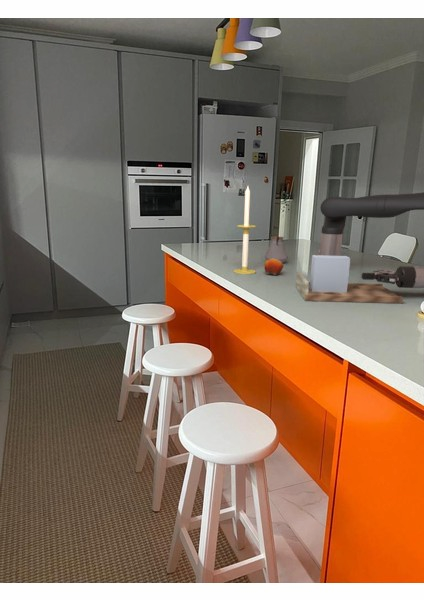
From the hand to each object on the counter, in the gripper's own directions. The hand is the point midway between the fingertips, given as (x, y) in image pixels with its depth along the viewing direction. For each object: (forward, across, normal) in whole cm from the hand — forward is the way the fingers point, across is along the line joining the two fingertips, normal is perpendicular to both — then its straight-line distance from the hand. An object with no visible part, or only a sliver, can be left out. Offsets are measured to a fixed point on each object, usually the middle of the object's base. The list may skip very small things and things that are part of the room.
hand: (362, 276), depth 148 cm
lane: (+5, 0, +7) cm, 9 cm away
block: (+12, 0, +5) cm, 13 cm away
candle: (+40, -38, +7) cm, 56 cm away
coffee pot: (+24, -60, +7) cm, 65 cm away
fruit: (+28, -34, +7) cm, 44 cm away
